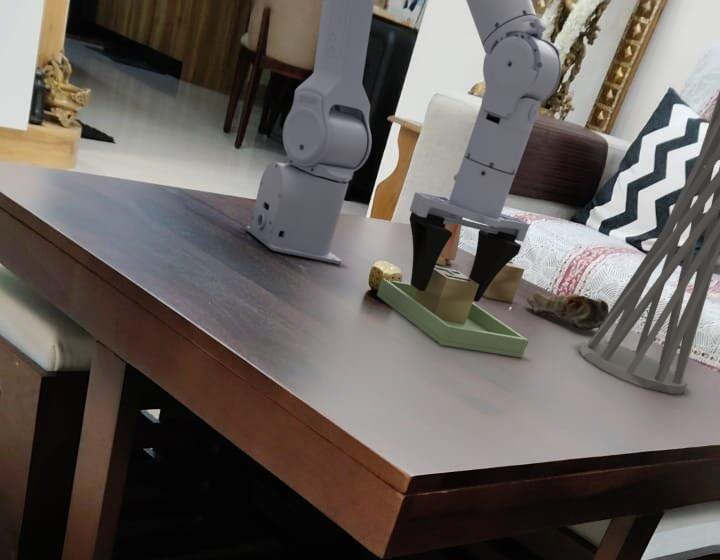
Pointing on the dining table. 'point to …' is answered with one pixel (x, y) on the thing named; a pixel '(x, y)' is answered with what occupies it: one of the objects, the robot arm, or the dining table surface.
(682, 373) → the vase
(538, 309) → the rock
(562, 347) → the dining table surface
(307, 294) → the dining table surface
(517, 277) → the wooden i block
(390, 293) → the tray
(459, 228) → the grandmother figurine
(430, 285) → the wooden h block
